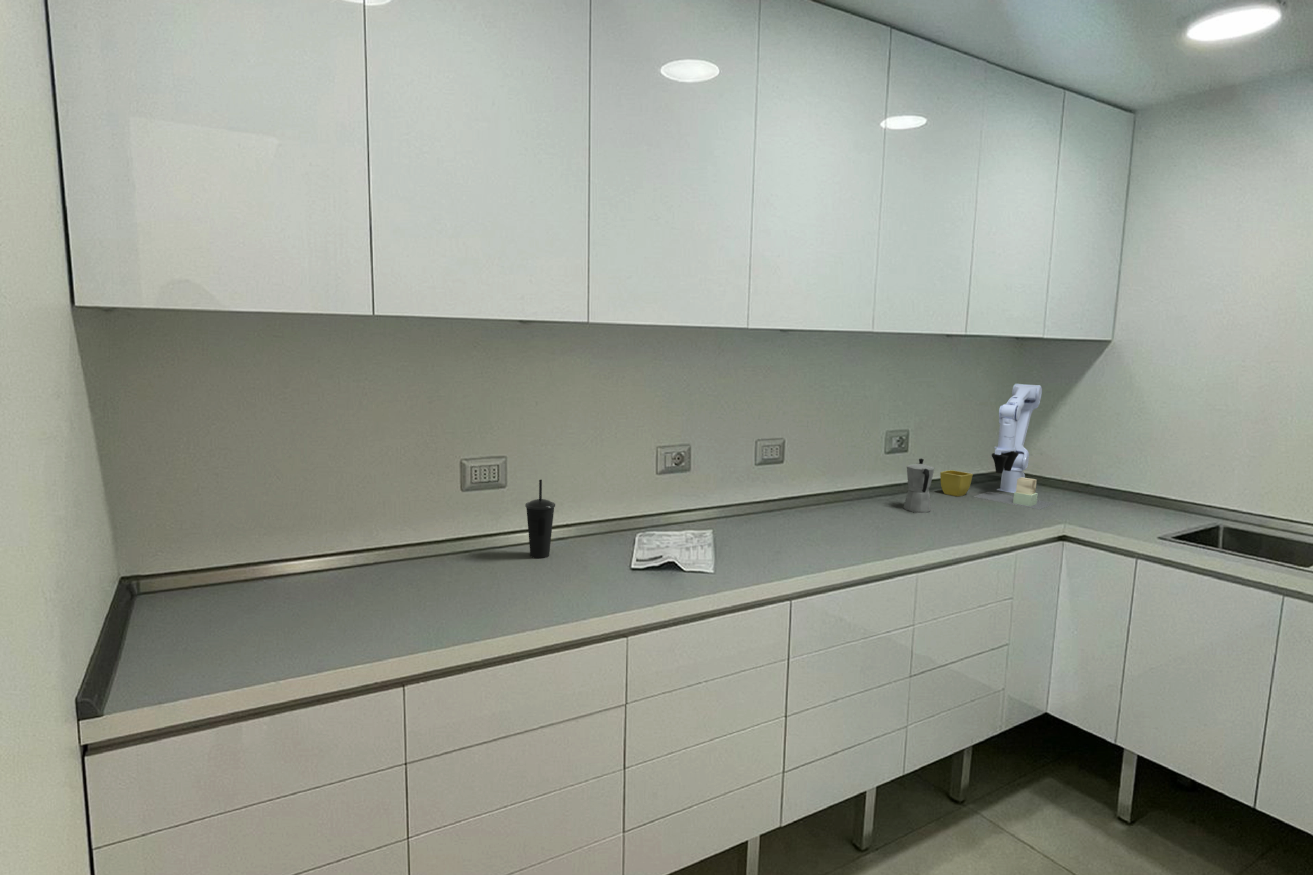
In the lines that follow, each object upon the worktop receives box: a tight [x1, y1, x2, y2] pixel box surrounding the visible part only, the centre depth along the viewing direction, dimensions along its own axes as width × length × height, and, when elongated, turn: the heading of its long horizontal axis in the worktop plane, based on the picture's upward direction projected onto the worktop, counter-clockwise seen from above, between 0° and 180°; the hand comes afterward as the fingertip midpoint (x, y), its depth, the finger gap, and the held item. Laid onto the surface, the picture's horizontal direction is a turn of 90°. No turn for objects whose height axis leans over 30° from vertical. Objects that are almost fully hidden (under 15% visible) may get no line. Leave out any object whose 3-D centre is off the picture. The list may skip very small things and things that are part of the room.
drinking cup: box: [524, 479, 556, 559], centre depth 185 cm, size 8×8×20 cm
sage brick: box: [1013, 492, 1039, 506], centre depth 263 cm, size 6×6×4 cm
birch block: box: [1016, 477, 1038, 495], centre depth 263 cm, size 5×5×5 cm
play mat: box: [972, 491, 1056, 510], centre depth 269 cm, size 15×24×1 cm, turn 43°
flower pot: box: [939, 469, 974, 497], centre depth 275 cm, size 9×9×9 cm
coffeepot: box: [903, 458, 936, 513], centre depth 249 cm, size 15×9×18 cm, turn 175°
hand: (1003, 471), depth 274 cm, fingers open, 7 cm apart
